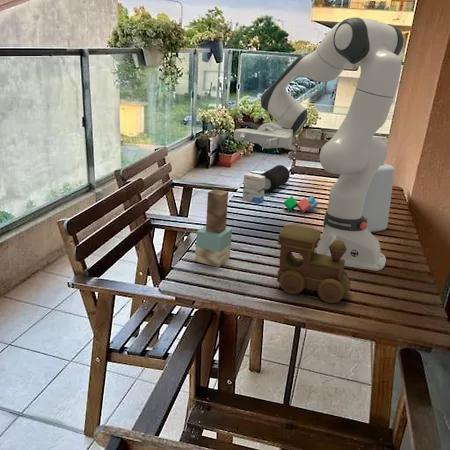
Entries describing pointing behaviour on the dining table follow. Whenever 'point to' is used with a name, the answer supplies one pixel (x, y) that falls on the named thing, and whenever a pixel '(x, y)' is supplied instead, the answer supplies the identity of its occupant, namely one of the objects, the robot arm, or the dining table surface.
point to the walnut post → (216, 211)
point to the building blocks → (301, 204)
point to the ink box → (253, 188)
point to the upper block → (213, 239)
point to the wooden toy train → (311, 264)
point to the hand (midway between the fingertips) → (254, 140)
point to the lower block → (212, 256)
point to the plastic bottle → (379, 199)
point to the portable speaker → (275, 178)
